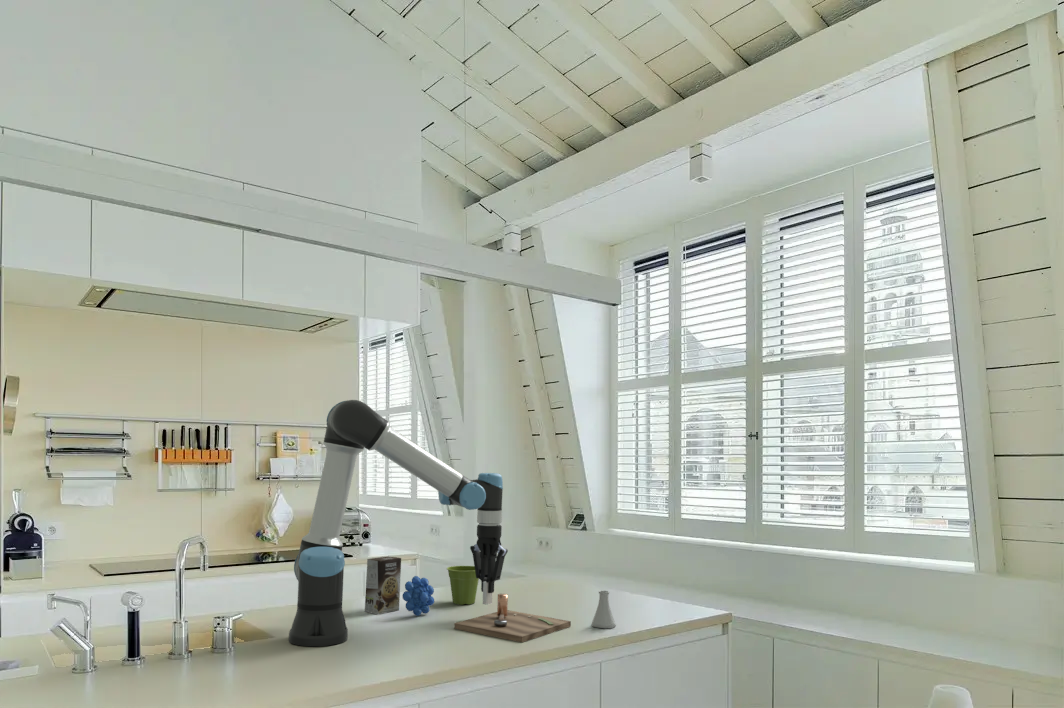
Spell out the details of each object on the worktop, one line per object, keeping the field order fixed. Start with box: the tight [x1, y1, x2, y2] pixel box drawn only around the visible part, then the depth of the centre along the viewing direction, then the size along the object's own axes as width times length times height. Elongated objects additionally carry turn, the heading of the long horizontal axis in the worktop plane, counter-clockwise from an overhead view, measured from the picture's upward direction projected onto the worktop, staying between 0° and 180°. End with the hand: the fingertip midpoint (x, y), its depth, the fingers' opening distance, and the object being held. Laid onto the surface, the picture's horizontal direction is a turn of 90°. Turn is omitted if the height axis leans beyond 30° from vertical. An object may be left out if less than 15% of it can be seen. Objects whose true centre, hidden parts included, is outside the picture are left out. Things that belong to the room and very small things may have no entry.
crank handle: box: [494, 593, 509, 626], centre depth 236 cm, size 15×4×6 cm, turn 0°
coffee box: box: [364, 556, 402, 615], centre depth 254 cm, size 9×6×16 cm
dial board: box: [453, 609, 572, 643], centre depth 235 cm, size 24×24×2 cm
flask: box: [591, 590, 616, 629], centre depth 240 cm, size 7×7×10 cm
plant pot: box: [446, 565, 480, 606], centre depth 268 cm, size 12×12×11 cm
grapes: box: [402, 575, 435, 617], centre depth 247 cm, size 12×7×12 cm, turn 134°
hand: (487, 603), depth 246 cm, fingers closed
